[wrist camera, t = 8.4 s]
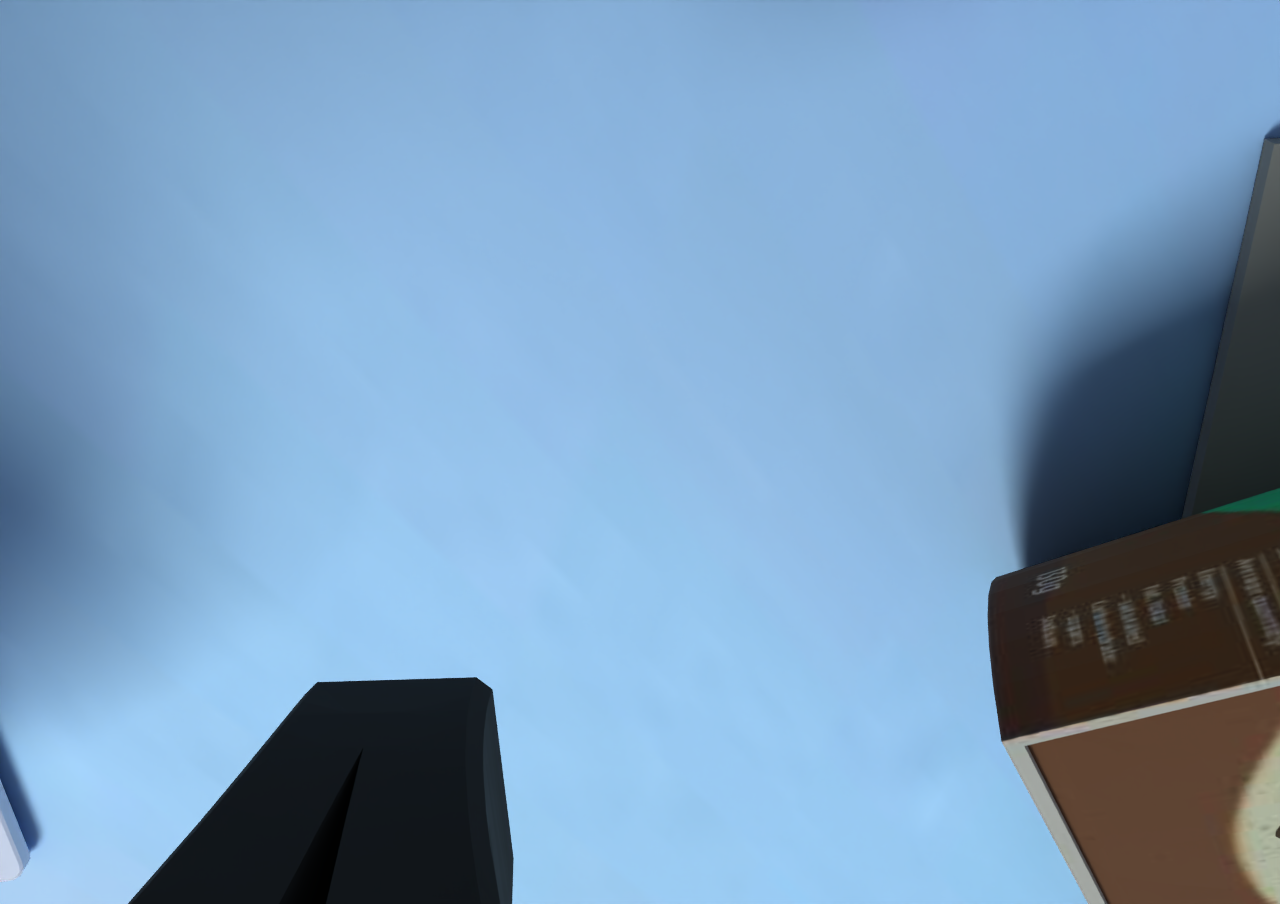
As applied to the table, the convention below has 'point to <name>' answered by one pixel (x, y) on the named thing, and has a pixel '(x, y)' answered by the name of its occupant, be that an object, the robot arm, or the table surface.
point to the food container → (1152, 706)
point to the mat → (1246, 364)
